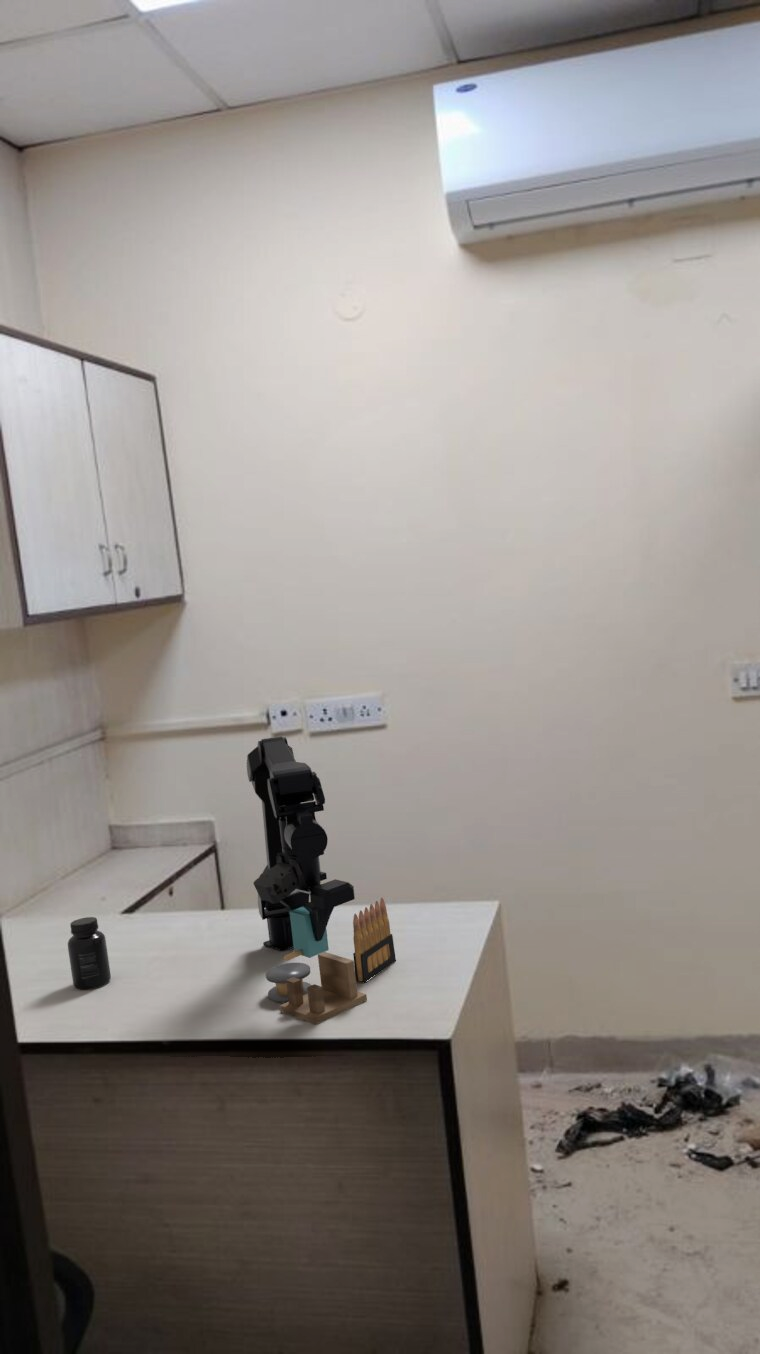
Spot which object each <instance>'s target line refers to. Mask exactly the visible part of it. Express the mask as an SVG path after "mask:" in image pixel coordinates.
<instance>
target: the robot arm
mask: <svg viewBox="0 0 760 1354" xmlns="http://www.w3.org/2000/svg"><path fill="white" fill-rule="evenodd" d="M246 774H247V778H248V782H249V783H251V785H252V787H253V790H254V792H255V794H256V796H257V797H258V798H259V799H260V800H261V806H262V807H261V808H262V819H263V829H264V839H265V843H264V844H265V853H266V854H265V855H266V863H267V864H266V866H265V868H264V869H263V871H262V873H260V875H259V877H258V878H257V879H255V880H254V881H253V886H254V888H255V890H256V892H257V907H258V913H259V915H260V918H261V919H262V921H265V920H266V921H267V922H266V923H267V924H266V925H267V930H268V932H267V933H268V938H269V939H267V941H264V942H263V946H265V947H268V948H271V949H275V950H277V951H281V952H283V951H287V950H289V949H292V948H294V945H293V937H292V928H291V920H290V912H289V911H292V910H295V909H297V908H300V907H304V908H305V909H306V910H307V911H309V913H310V918H311V924H312V929H313V934H314V937H315V941H317V942H318V941H320V940H322V938H323V935H324V932H325V930H327V926H328V923H329V920H330V918H331V915H332V913H333V911H334V908H335V907H338V906H340V905H343V904H346V903H349V902H351V901H353V900H355V899H356V897H355V888H354V885H353V884H351V883H350V882H349V881H344V880H339V879H335V878H334V879H332V880H330V881H327V882H324V883H321V882H322V881H325V880H327V879H328V878H327V877H328V876H327V872H324V871H321V865H320V856H323V855H325V851H326V849H327V846H328V839H329V838H328V835H327V833H326V830H325V829H324V828H323V826H321V825H320V823H319V822H318V821H317V820H316V819H317V818H316V814H315V813H317V812H323V811H325V807H324V805H325V803H326V798H325V794H324V791H323V788H322V784H321V780H320V779H321V778H319V776H317V772H315V771H313V770H312V768H311V767H310V766H309V765H308V764H307V763H306V762H300V761H299V762H298V761H296V759H295V755H294V750H293V747H291V746H290V745H289V744H288V739H287V737H283V736H275V737H268V738H262V739H261V740H258V741H257V746H256V747H255V748H253V749H252V750H251V751H250V752H249V753H248V754H247V756H246ZM314 800H315V801H314Z"/></svg>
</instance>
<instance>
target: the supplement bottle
mask: <svg viewBox="0 0 760 1354" xmlns="http://www.w3.org/2000/svg"><path fill="white" fill-rule="evenodd" d="M69 926H70V934H71V937H70V938H69V939H68V941H67V951H68V958H69V965H70V971H71V978H72V985H73V987H74V988H75V989H77V990H81V991H88V990H93V989H97V988H101V987H103V986H106V985H107V984H109V982H110V981H111V978H112V974H111V968H110V961H109V960H110V959H109V954H108V947H107V939H106V935H105V934H104V933H103V932H102V931H99V928H100V927H99V923H98V919H97V917H96V916H89V917H88V916H87V917H82V918H78V919H75V920H73V921H71V923H70V925H69Z"/></svg>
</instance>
